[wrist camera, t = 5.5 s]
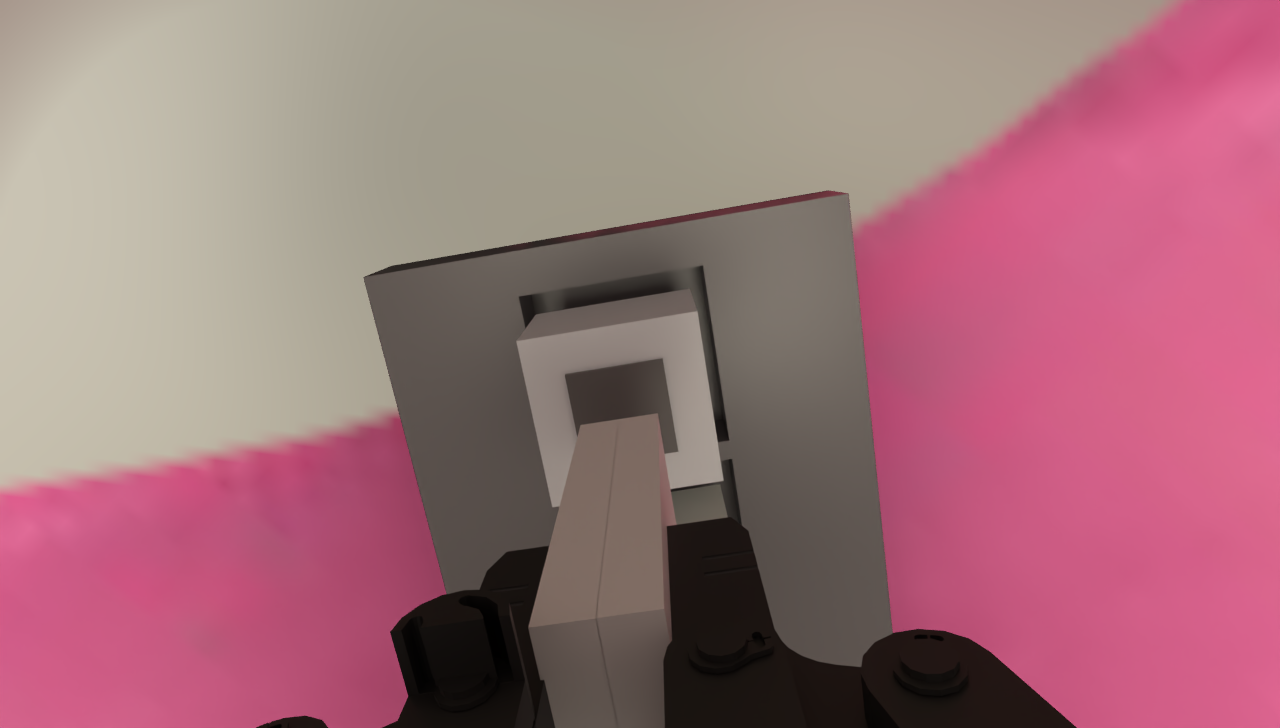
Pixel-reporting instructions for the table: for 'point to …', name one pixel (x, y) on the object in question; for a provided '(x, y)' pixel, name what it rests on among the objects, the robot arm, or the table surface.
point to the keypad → (738, 382)
